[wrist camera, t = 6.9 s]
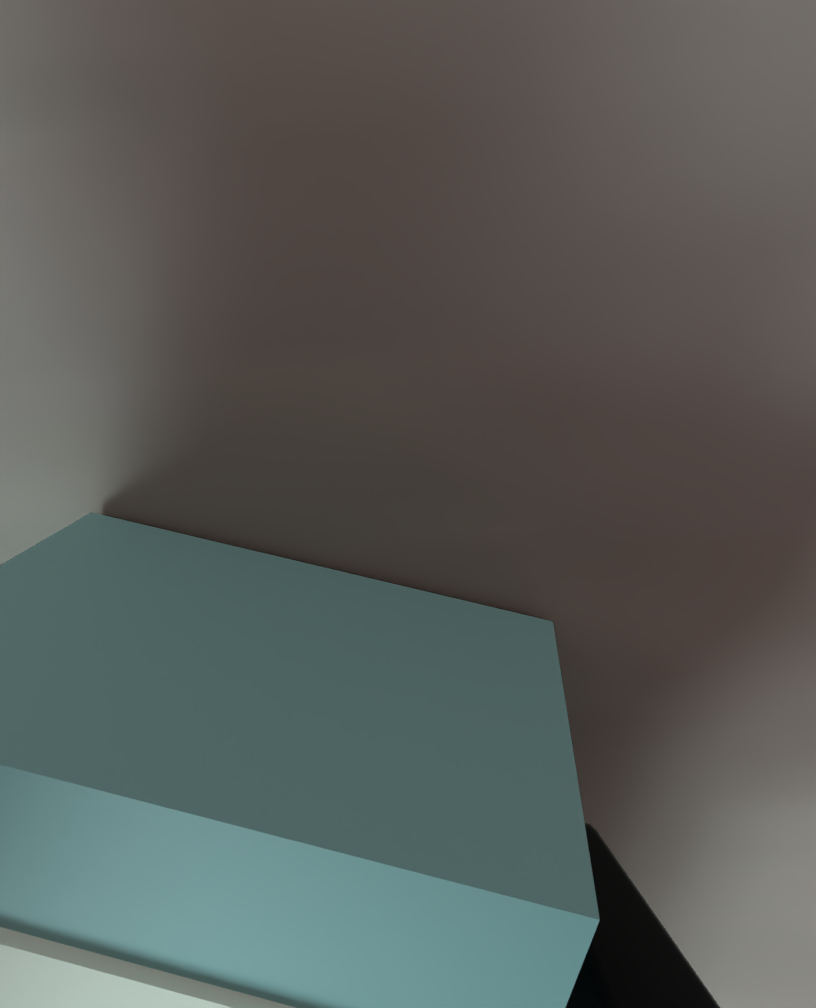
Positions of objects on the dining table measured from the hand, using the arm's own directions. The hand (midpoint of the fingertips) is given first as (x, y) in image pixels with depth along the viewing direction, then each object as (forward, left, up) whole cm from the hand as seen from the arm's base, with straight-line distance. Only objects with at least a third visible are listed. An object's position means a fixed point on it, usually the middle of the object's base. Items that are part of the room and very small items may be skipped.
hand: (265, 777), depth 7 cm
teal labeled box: (-2, 0, -1) cm, 2 cm away
